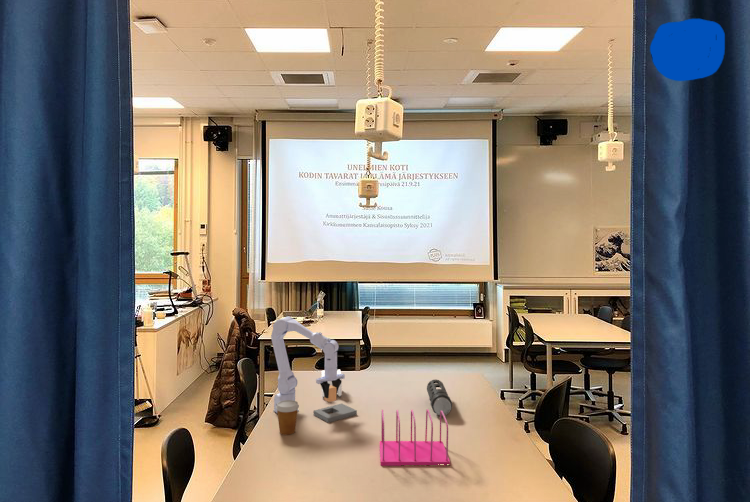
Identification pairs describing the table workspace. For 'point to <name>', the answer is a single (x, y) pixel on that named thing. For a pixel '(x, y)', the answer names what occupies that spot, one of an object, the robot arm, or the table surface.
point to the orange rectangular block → (331, 394)
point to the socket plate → (335, 412)
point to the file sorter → (413, 447)
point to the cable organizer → (331, 383)
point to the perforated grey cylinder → (439, 397)
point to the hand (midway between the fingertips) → (330, 396)
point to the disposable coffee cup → (287, 416)
